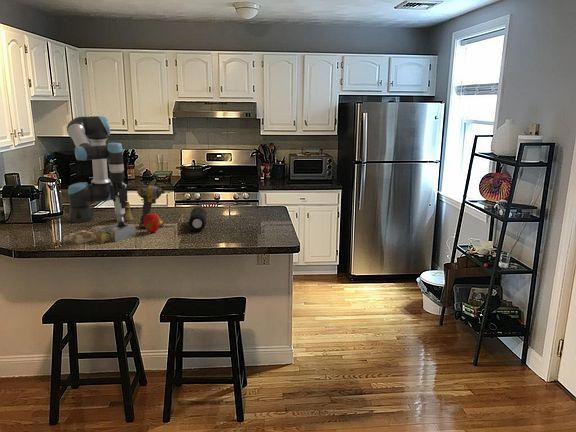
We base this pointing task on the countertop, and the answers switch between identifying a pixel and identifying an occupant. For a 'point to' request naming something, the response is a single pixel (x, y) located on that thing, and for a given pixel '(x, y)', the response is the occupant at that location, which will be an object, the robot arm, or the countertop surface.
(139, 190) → the cordless drill
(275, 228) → the countertop surface
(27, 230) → the countertop surface
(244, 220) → the countertop surface
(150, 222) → the apple
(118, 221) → the rod
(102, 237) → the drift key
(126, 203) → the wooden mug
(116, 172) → the robot arm
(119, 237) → the socket block
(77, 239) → the wooden square frame
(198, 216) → the portable speaker
